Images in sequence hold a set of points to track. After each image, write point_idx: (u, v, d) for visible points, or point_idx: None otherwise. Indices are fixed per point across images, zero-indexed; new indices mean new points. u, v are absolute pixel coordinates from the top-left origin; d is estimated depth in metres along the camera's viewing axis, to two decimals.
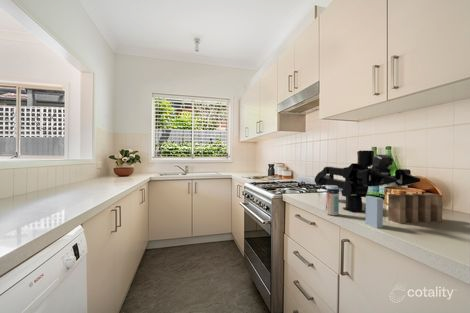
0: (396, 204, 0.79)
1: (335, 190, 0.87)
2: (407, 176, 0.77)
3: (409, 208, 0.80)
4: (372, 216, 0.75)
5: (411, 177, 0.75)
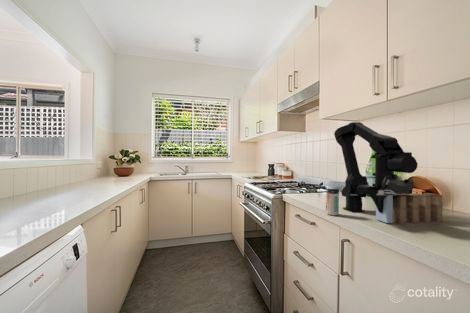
0: (396, 204, 0.79)
1: (335, 190, 0.87)
2: None
3: (409, 208, 0.80)
4: None
5: None
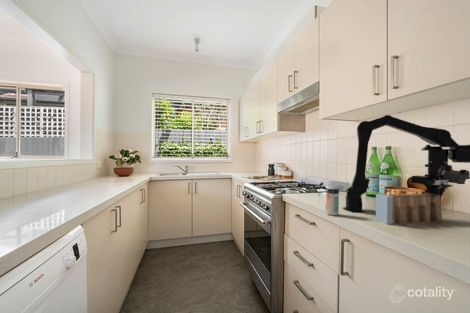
0: (396, 204, 0.79)
1: (335, 190, 0.87)
2: (440, 190, 0.83)
3: (409, 208, 0.80)
4: (382, 213, 0.79)
5: (438, 194, 0.83)
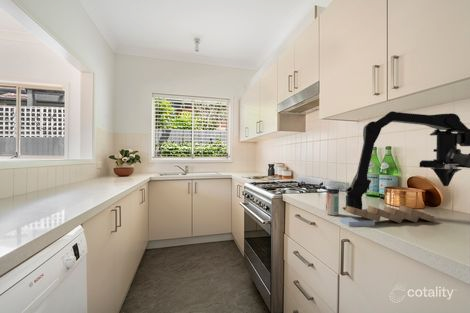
0: None
1: (335, 190, 0.87)
2: (449, 174, 0.84)
3: (385, 217, 0.79)
4: None
5: None
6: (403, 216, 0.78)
